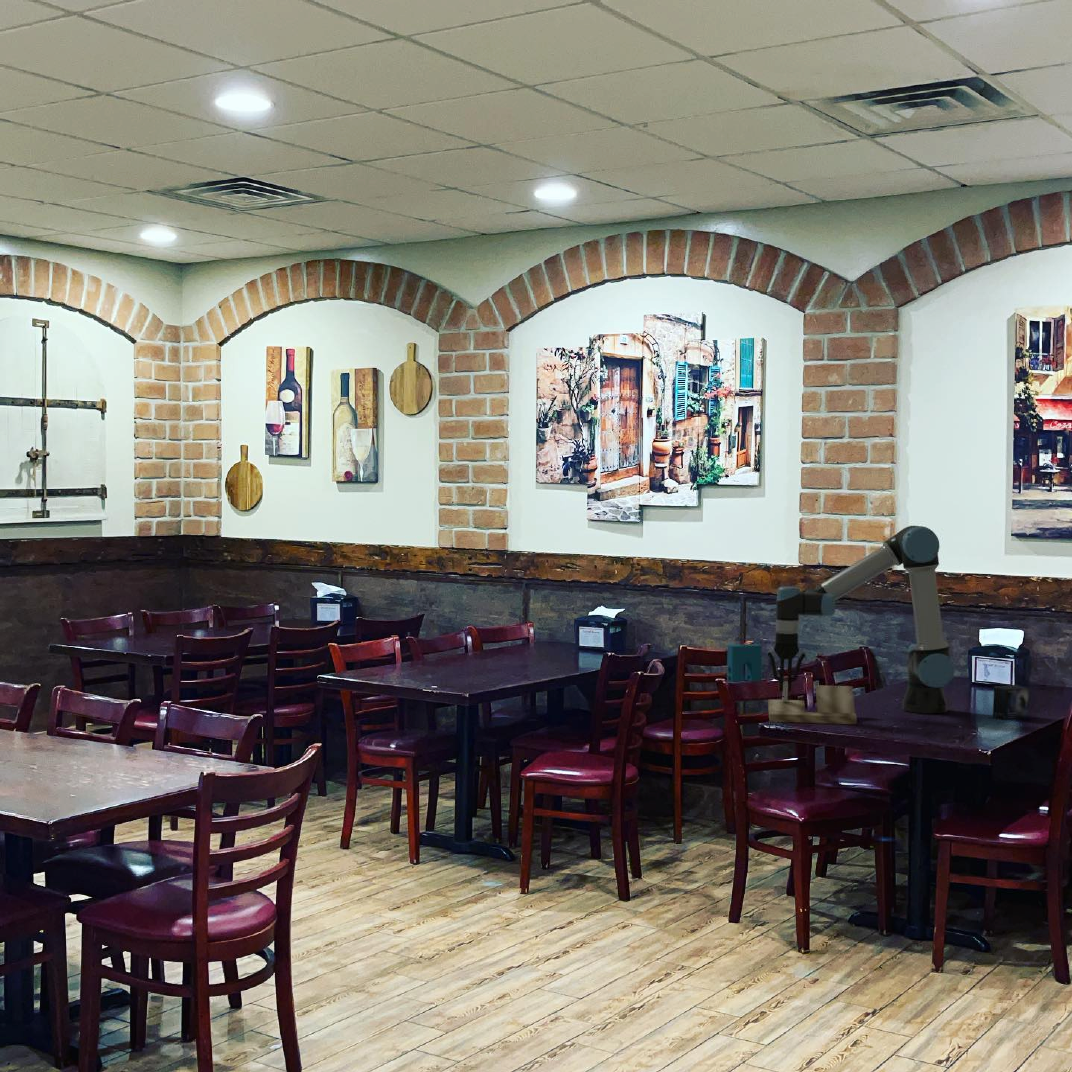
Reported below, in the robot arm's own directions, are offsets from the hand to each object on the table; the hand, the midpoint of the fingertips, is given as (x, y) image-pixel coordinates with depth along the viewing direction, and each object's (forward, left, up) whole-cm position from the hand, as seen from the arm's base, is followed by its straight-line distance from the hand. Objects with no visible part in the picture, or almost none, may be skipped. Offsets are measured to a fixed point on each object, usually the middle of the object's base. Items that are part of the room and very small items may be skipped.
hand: (784, 700), depth 463 cm
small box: (-75, -7, -5) cm, 76 cm away
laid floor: (-8, +14, -4) cm, 17 cm away
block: (+14, -26, -5) cm, 29 cm away
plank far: (0, +3, -3) cm, 5 cm away
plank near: (-16, +3, 0) cm, 17 cm away
